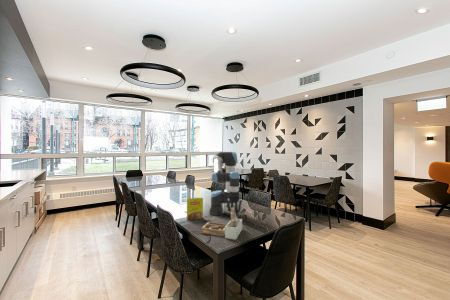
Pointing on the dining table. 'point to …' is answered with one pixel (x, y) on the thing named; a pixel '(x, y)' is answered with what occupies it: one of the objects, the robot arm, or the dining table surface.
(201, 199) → the food package
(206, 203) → the dining table surface
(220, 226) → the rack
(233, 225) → the board
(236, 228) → the tote
